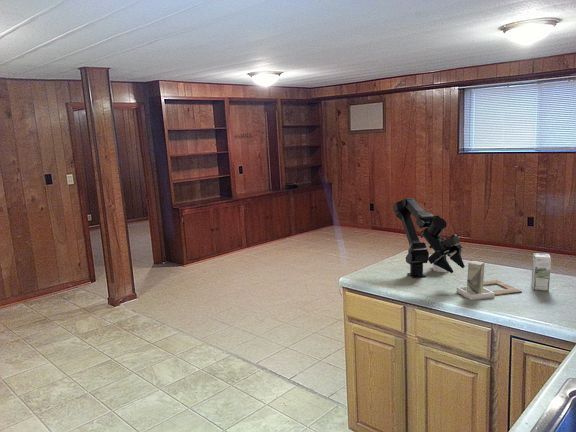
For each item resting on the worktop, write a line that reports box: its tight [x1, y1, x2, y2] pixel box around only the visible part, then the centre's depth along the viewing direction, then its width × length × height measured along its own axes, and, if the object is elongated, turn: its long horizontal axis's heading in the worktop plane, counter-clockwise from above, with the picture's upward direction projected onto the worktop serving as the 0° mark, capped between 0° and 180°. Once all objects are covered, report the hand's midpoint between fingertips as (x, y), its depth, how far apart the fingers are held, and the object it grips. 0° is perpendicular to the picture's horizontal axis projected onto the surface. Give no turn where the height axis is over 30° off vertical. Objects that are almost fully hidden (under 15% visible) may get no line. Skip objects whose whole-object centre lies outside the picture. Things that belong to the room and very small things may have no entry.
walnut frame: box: [483, 279, 523, 297], centre depth 194 cm, size 16×14×1 cm
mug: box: [432, 249, 452, 273], centre depth 224 cm, size 12×8×10 cm, turn 177°
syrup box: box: [530, 252, 552, 292], centre depth 190 cm, size 6×6×14 cm
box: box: [466, 260, 485, 294], centre depth 186 cm, size 5×4×13 cm
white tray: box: [456, 285, 495, 301], centre depth 186 cm, size 10×10×2 cm
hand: (458, 270), depth 191 cm, fingers open, 9 cm apart
